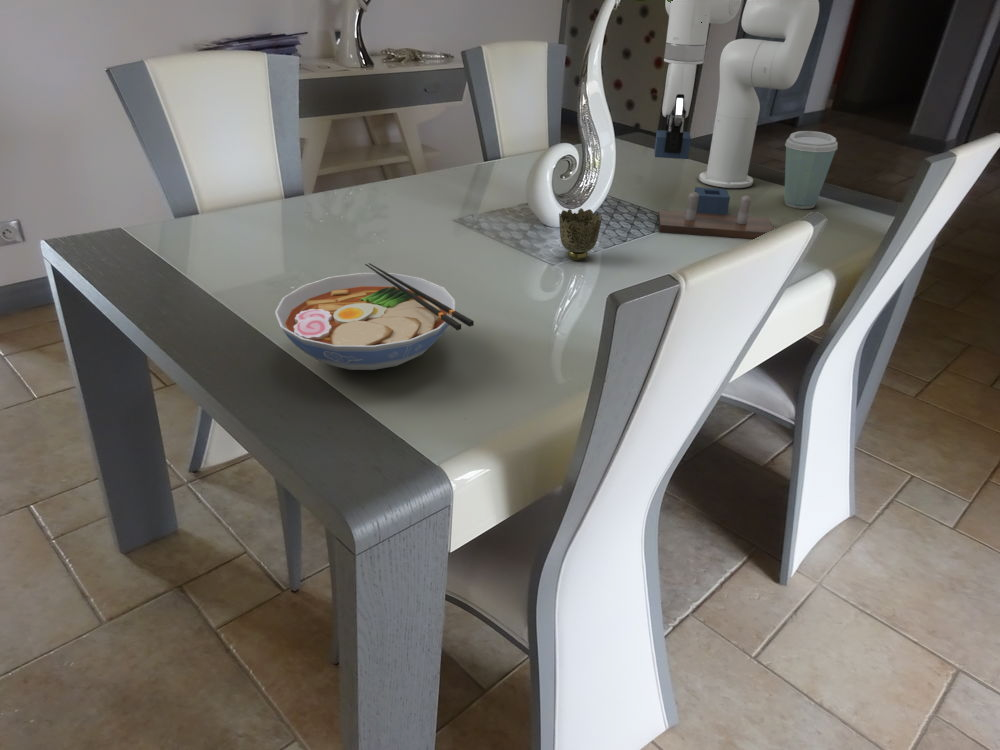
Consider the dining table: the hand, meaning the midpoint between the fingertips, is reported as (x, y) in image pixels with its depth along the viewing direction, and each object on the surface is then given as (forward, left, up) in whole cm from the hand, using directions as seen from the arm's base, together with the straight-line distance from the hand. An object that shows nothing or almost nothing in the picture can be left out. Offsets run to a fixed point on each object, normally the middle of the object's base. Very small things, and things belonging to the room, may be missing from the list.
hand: (671, 147), depth 152 cm
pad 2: (-2, +10, -13) cm, 17 cm away
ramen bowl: (+75, -41, -13) cm, 87 cm away
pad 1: (0, 0, -1) cm, 1 cm away
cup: (+33, -16, -13) cm, 39 cm away
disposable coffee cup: (-11, +30, -13) cm, 35 cm away
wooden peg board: (+10, +10, -13) cm, 19 cm away
